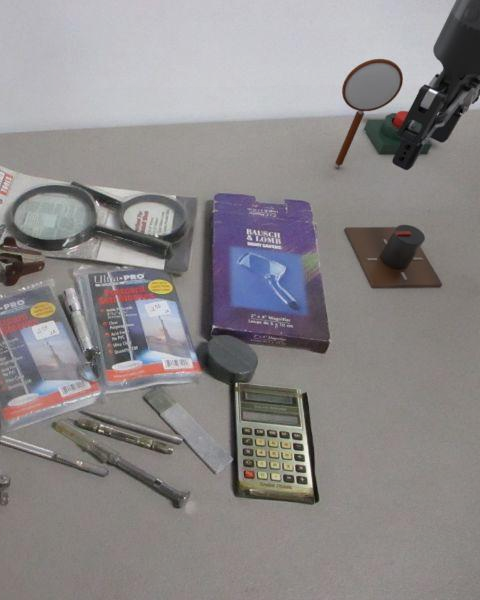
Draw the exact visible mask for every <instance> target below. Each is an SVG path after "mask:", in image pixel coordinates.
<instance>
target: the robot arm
mask: <svg viewBox="0 0 480 600" xmlns="http://www.w3.org/2000/svg"><path fill="white" fill-rule="evenodd" d="M432 51H433V55H434V57H435V58H436V60H437V61H439V62H440V64H441V66H442V71H440V73H436V74H435V75H434V76H433V78H432V79H431V80H430V81H429V83H428V84H423V85H422V86H421V87H419V89H418V92H417V94H416V96H415V98H414V100H413V101H412V104H411V105H410V108H409V109H408V114H407V116H406V118H405V119H404V121H403V123H402V125H401V127H400V129H399V130H398V133H397V136H398V137H400V138H402V139H403V140H402V142H401V144H400V146H399V148H398V150H397V152H396V154H394V156H393V158H392V159H391V161H392V164H393V165H395V166H397V167H398V168H400V169H402V170H404V171H409V170H410V169H412V168H413V167H414V165H415V163H416V162H417V161H418V158H419V156H420V155H421V154H420V152H421V150H422V149H423V147H424V145H425V143H426V142H427V141H428V140H430V139H432V140H434V141H437V142H438V143H441V144H443V143H445V142H447V141H448V140H449V138H450V136H451V135H452V133H453V131H454V129H455V127H456V126H457V124H458V123H459V121H460V119H461V118H462V115H464V114H466V112H468V111H469V109H470V106H472V105H474V104H475V103H476V102H478V101H479V99H480V0H455V1H454V4H453V6H452V8H451V10H450V11H449V14H448V16H447V18H446V20H445V21H444V24H443V26H442V28H441V30H440V32H439V34H438V37H437V38H436V40H435V43H434V45H433V50H432ZM417 123H420V124H421V125H422V128H421V129H420V130H419V129H417V128H415V126H416V125H417Z"/></svg>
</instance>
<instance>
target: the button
mask: <svg viewBox="0 0 480 600" xmlns="http://www.w3.org/2000/svg"><path fill="white" fill-rule="evenodd" d="M408 112H409V110H408V111H407V110H400V111H397V112H396V113H397V114H396V116H395V118H394V120H393V124H394V125H395V126H397V127H398V128H400V127H401V125H402V123H403V121H404V119H405V118H406V116H407V114H408Z"/></svg>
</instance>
